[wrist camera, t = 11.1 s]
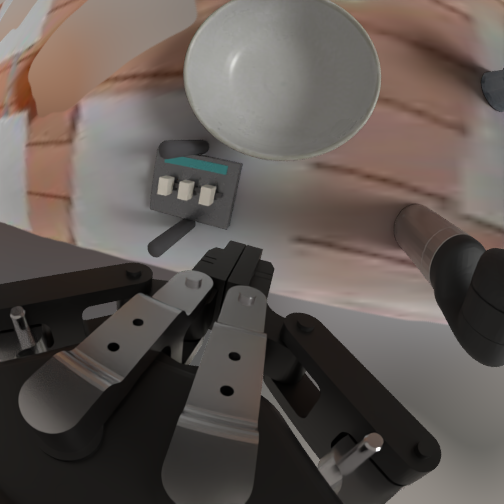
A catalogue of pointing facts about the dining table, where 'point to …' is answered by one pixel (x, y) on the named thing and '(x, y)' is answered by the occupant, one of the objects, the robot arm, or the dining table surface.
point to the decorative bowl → (282, 77)
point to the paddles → (186, 190)
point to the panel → (198, 188)
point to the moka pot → (494, 88)
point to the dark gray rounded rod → (182, 148)
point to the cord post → (170, 237)
